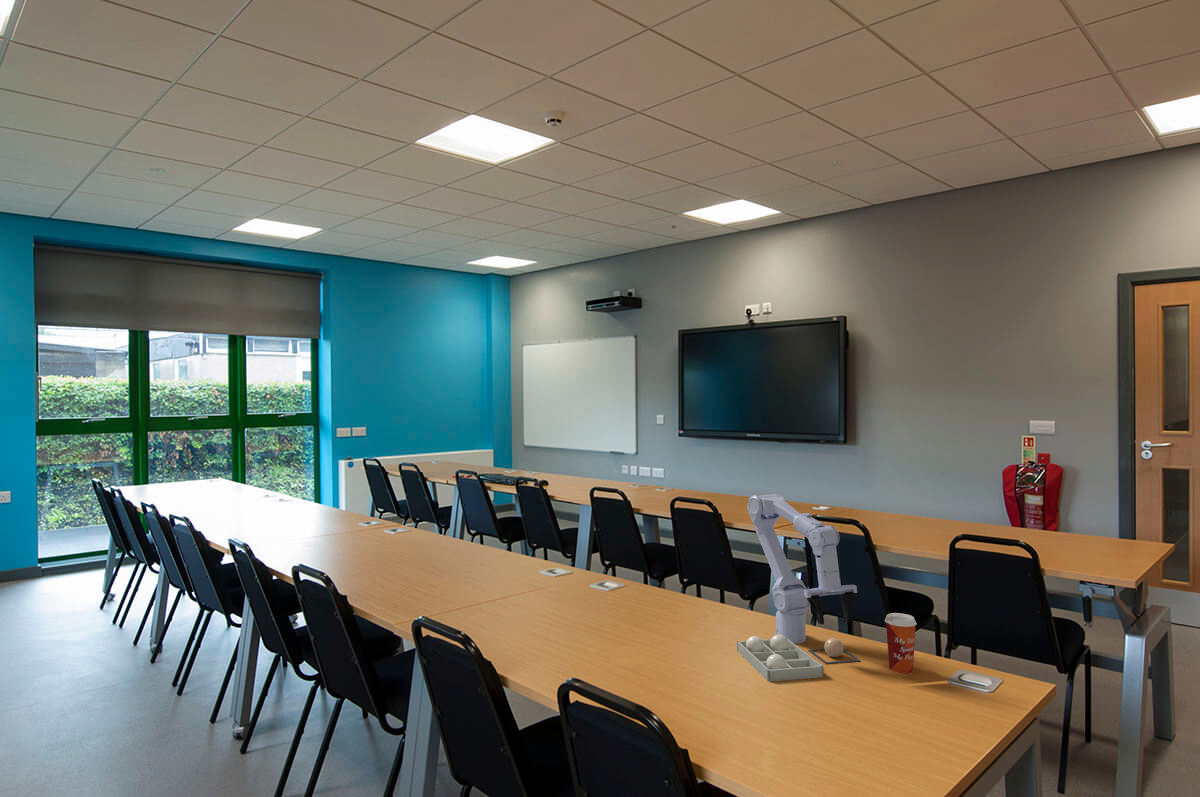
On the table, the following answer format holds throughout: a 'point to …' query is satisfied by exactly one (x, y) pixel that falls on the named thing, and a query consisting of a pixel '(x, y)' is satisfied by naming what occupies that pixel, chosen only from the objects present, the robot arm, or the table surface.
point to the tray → (796, 660)
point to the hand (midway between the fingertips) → (834, 622)
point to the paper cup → (900, 641)
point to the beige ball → (833, 647)
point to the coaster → (834, 661)
